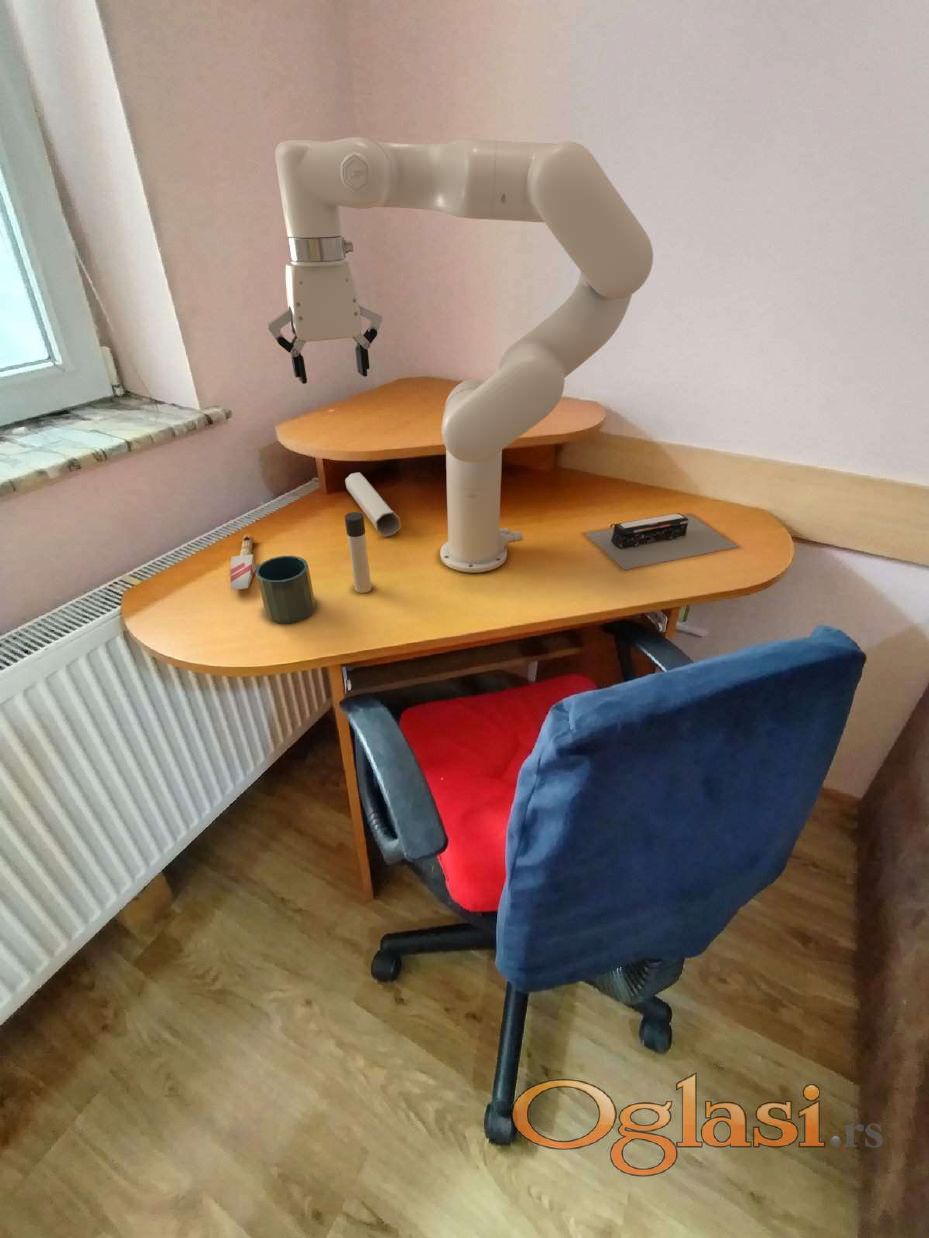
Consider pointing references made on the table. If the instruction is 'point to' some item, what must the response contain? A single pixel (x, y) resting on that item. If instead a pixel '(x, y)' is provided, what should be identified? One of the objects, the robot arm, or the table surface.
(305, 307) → the robot arm
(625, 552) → the gray base plate
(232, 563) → the paintbrush
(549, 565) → the table surface
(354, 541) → the marker
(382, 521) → the tube
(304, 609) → the pen holder
